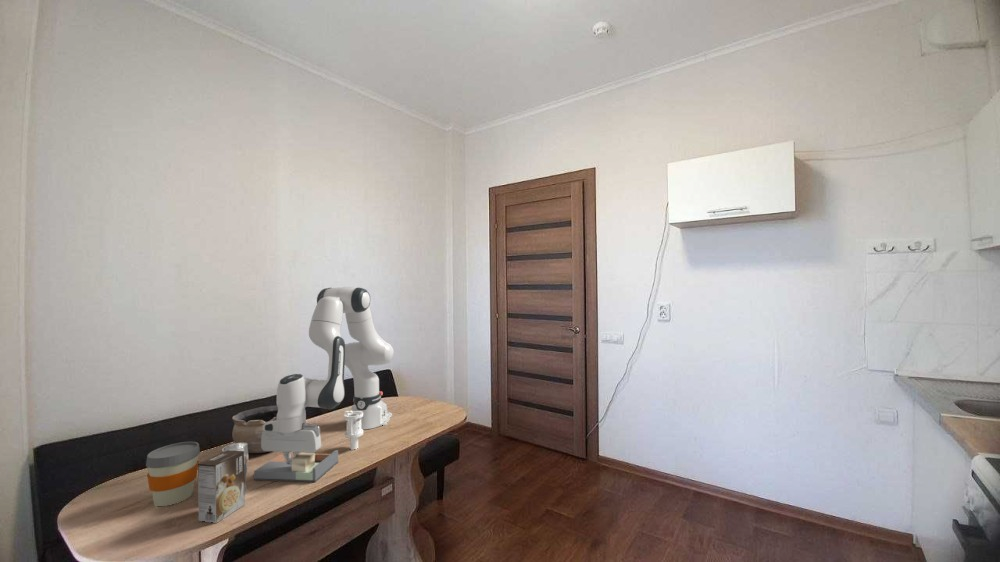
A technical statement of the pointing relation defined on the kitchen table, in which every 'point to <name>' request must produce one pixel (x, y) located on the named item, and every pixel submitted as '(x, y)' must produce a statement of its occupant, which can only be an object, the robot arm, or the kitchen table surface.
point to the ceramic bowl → (252, 426)
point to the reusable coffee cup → (172, 472)
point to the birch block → (303, 462)
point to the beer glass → (240, 448)
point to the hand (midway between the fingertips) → (291, 463)
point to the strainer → (353, 427)
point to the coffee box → (221, 485)
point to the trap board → (283, 471)
